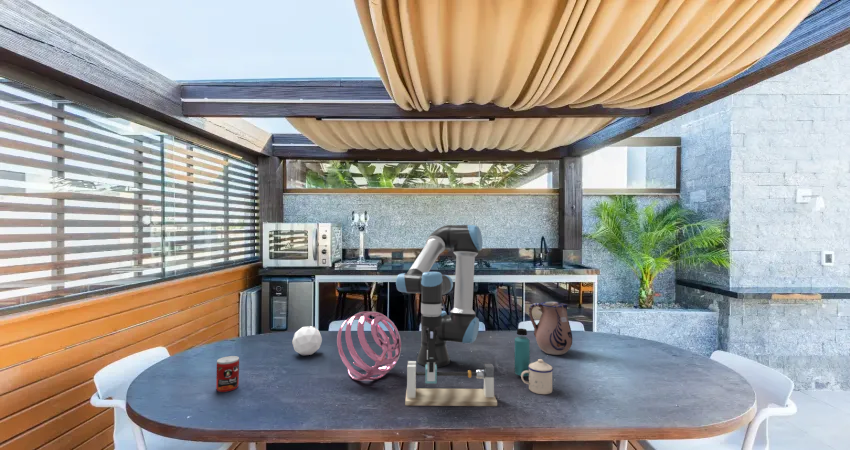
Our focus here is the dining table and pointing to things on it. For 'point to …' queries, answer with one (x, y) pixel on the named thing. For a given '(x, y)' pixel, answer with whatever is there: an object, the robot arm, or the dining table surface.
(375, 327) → the spiral basket
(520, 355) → the beverage bottle
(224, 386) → the canned food
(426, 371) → the sleeve
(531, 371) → the teacup with lid
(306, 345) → the geodesic sphere
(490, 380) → the cord jig
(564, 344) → the ceramic pitcher
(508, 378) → the dining table surface
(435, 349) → the robot arm
